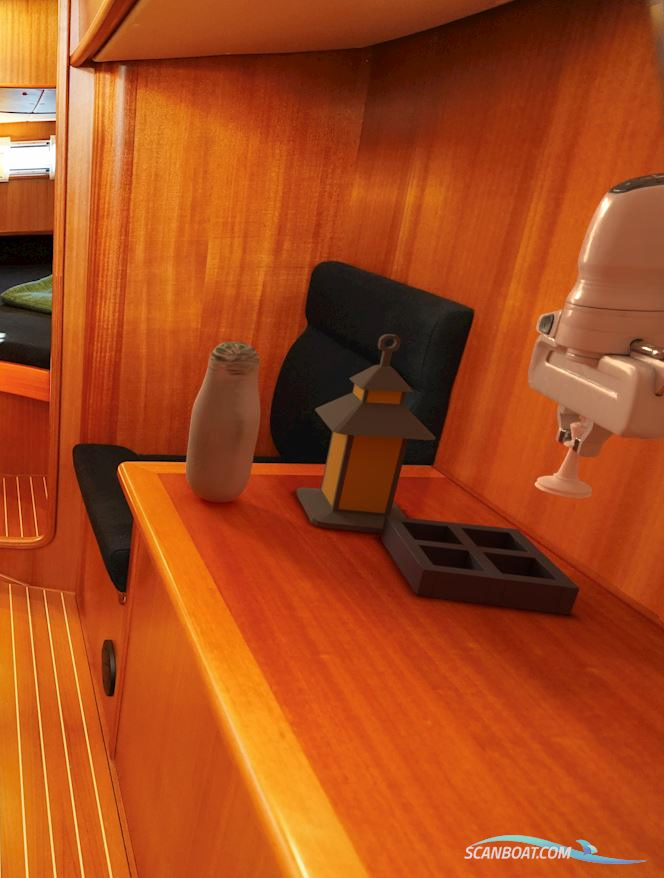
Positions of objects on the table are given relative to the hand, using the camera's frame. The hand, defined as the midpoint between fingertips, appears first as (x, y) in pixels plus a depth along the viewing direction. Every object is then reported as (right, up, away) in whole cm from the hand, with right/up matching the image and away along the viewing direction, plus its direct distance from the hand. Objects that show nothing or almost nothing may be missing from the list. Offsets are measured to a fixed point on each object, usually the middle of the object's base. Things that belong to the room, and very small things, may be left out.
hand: (575, 449), depth 81 cm
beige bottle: (-22, -10, +42) cm, 49 cm away
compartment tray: (+2, -18, +17) cm, 25 cm away
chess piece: (0, -5, +2) cm, 5 cm away
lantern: (-2, -11, +36) cm, 37 cm away
